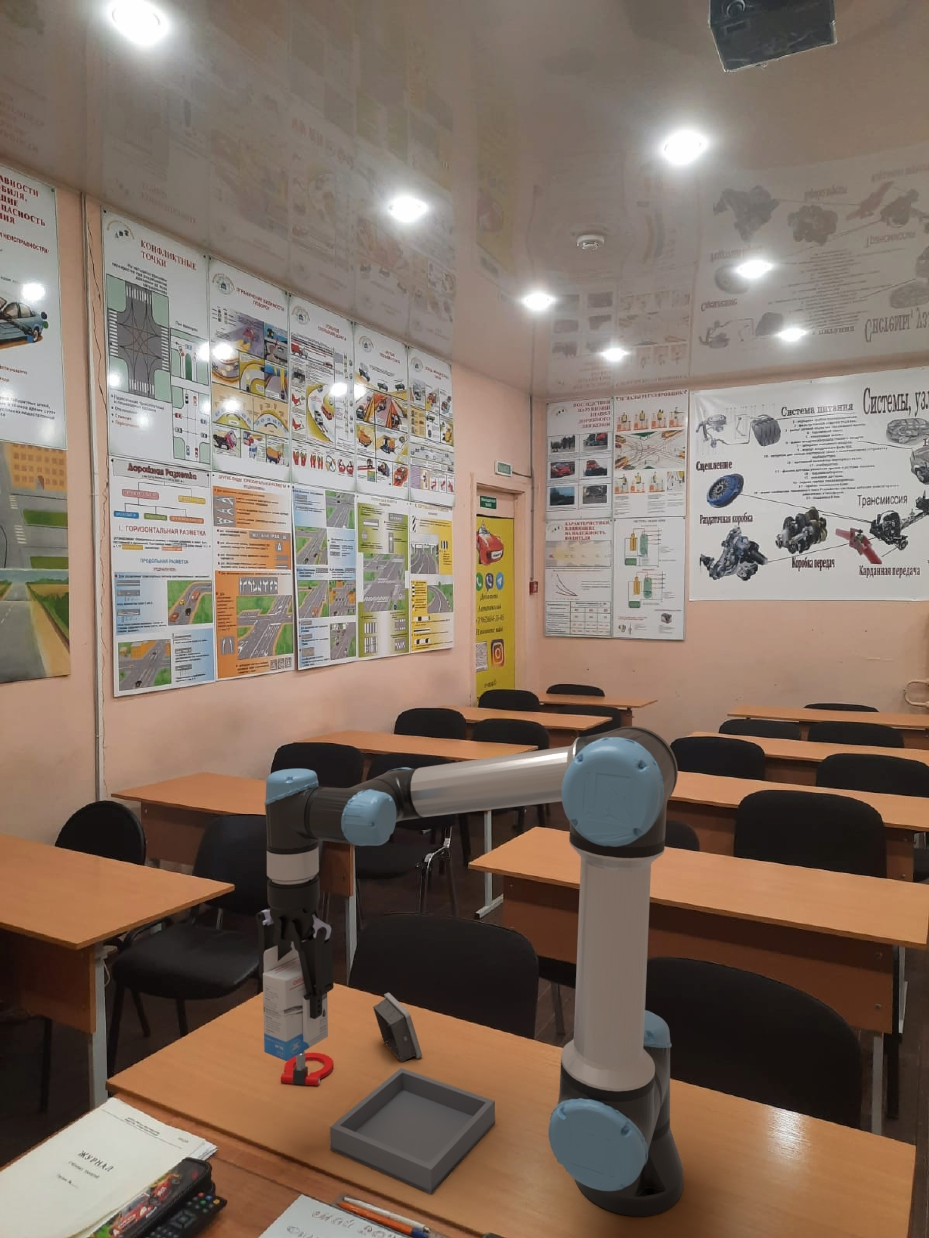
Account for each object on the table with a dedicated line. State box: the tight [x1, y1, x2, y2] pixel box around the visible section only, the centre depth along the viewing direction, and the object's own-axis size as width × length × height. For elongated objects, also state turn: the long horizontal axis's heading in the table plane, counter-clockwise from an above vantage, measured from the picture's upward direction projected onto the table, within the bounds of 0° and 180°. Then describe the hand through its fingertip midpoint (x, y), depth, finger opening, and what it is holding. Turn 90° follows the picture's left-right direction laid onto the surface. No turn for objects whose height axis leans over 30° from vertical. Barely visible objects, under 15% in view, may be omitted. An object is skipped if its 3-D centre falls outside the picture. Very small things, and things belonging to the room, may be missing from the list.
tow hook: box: [280, 1051, 334, 1087], centre depth 143 cm, size 8×13×9 cm
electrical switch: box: [372, 992, 423, 1063], centre depth 149 cm, size 9×5×9 cm, turn 30°
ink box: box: [262, 940, 329, 1062], centre depth 121 cm, size 9×5×15 cm, turn 144°
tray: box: [329, 1067, 496, 1196], centre depth 125 cm, size 18×18×4 cm
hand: (296, 1032), depth 121 cm, fingers closed on ink box, 5 cm apart
